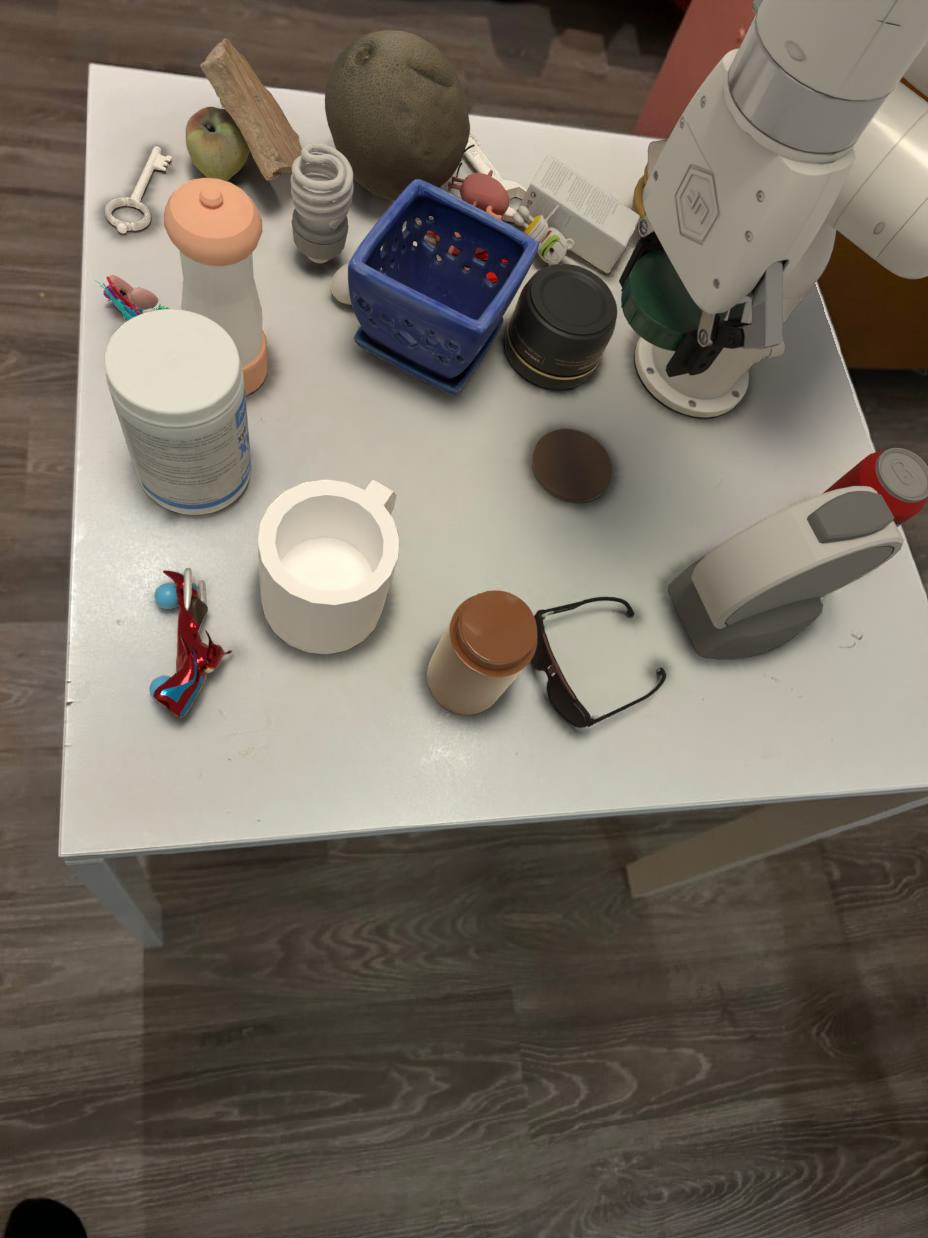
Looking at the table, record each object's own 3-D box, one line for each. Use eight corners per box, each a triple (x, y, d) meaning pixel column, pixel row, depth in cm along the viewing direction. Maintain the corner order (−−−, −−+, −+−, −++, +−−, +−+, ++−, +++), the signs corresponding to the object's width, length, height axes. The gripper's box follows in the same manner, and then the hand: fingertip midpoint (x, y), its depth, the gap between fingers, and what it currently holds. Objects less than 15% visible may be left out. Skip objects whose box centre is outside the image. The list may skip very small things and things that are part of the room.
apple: (258, 148, 86) (257, 95, 81) (241, 202, 83) (238, 150, 78) (201, 132, 85) (195, 78, 80) (181, 186, 82) (174, 133, 77)
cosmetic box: (513, 215, 88) (606, 276, 90) (529, 182, 84) (626, 246, 86) (532, 184, 91) (622, 244, 92) (548, 151, 87) (642, 214, 89)
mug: (324, 495, 73) (331, 426, 63) (423, 553, 73) (445, 493, 63) (236, 613, 67) (228, 557, 58) (343, 677, 67) (353, 630, 57)
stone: (300, 175, 89) (318, 160, 88) (267, 185, 79) (287, 168, 78) (221, 54, 84) (239, 37, 83) (175, 48, 74) (195, 29, 73)
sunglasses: (505, 632, 71) (527, 608, 67) (612, 598, 77) (639, 574, 72) (557, 743, 69) (584, 726, 64) (664, 700, 74) (695, 681, 70)
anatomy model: (55, 283, 69) (90, 334, 75) (130, 325, 68) (159, 374, 74) (95, 240, 70) (126, 295, 77) (169, 281, 69) (194, 333, 75)
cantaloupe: (292, 134, 75) (407, 250, 84) (400, 3, 69) (511, 142, 79) (288, 92, 85) (392, 200, 94) (383, -27, 79) (483, 101, 88)
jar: (568, 241, 80) (545, 298, 87) (501, 287, 76) (482, 342, 83) (643, 308, 79) (614, 360, 86) (578, 358, 75) (553, 408, 82)
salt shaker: (282, 380, 76) (282, 212, 59) (210, 410, 74) (188, 242, 56) (243, 323, 78) (231, 142, 60) (171, 350, 75) (137, 169, 58)
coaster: (590, 425, 82) (592, 421, 81) (623, 492, 80) (625, 489, 79) (519, 440, 79) (520, 437, 79) (550, 511, 77) (552, 508, 77)
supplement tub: (271, 492, 72) (268, 387, 59) (168, 536, 68) (141, 436, 55) (218, 408, 74) (204, 289, 61) (116, 447, 71) (77, 330, 57)
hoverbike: (131, 712, 59) (204, 701, 58) (140, 565, 64) (208, 553, 63) (166, 730, 64) (235, 720, 63) (172, 592, 68) (236, 580, 68)
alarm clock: (781, 538, 81) (908, 433, 65) (829, 631, 78) (975, 545, 62) (643, 577, 76) (742, 474, 60) (688, 677, 74) (807, 597, 57)
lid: (643, 359, 54) (654, 341, 52) (605, 274, 55) (615, 254, 54) (733, 343, 55) (746, 325, 54) (693, 261, 57) (705, 241, 56)
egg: (333, 317, 80) (348, 308, 83) (384, 293, 78) (397, 284, 81) (314, 279, 79) (330, 271, 82) (365, 252, 76) (380, 245, 79)
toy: (486, 127, 79) (590, 239, 85) (484, 123, 81) (586, 233, 88) (440, 184, 81) (545, 289, 88) (440, 179, 84) (541, 281, 90)
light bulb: (357, 259, 84) (368, 155, 73) (324, 291, 81) (331, 189, 70) (312, 229, 84) (316, 122, 73) (278, 260, 82) (277, 153, 71)
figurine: (418, 261, 86) (481, 278, 85) (414, 236, 83) (479, 253, 82) (461, 180, 90) (521, 195, 89) (458, 153, 87) (521, 168, 86)
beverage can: (818, 575, 81) (902, 517, 70) (781, 519, 82) (857, 453, 71) (866, 553, 83) (955, 493, 72) (829, 498, 85) (910, 431, 74)
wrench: (538, 216, 91) (544, 202, 89) (500, 229, 89) (505, 214, 88) (421, 63, 96) (424, 47, 95) (382, 73, 94) (384, 56, 93)
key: (142, 233, 78) (96, 220, 78) (143, 240, 79) (98, 228, 79) (178, 149, 83) (136, 137, 83) (179, 157, 84) (137, 145, 83)
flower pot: (397, 269, 84) (414, 168, 73) (511, 329, 84) (545, 237, 73) (334, 356, 78) (343, 261, 68) (457, 420, 79) (485, 336, 68)
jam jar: (486, 631, 71) (523, 573, 60) (514, 701, 69) (558, 654, 58) (415, 653, 69) (440, 597, 58) (442, 725, 67) (474, 681, 56)
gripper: (668, -34, 42) (564, 237, 58) (830, 226, 37) (668, 441, 54) (785, -40, 44) (654, 223, 60) (953, 204, 39) (761, 418, 56)
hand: (661, 324), depth 57 cm, fingers closed on lid, 6 cm apart
